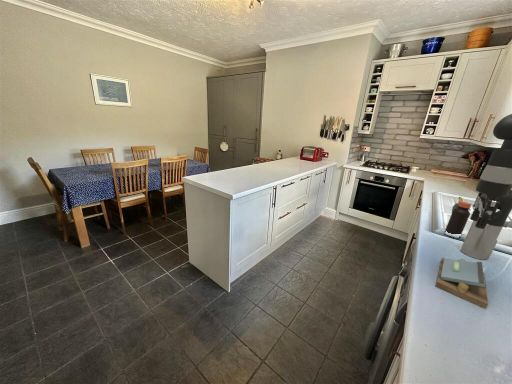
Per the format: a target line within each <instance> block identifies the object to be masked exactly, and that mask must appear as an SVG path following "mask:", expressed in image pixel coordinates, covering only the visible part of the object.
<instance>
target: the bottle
mask: <svg viewBox="0 0 512 384" xmlns="http://www.w3.org/2000/svg"><path fill="white" fill-rule="evenodd" d="M458 201H459V200H458ZM457 203H458V202H457ZM472 206H473V205H472V203H470V202H466V201H464V200H463V201H459V203H458V208H456V209H454V210H453V212H452V211H451V214H450V218H449V220H448V222H447V224H446V227H445V230H446V231H447V232H448V233H451V234H461V235H462V234H463V232H464V230H465V227H466V225H467V222H468V221H469V217H471V212H470V211H469V210H470V208H471V207H472ZM445 230H444V231H445Z"/></svg>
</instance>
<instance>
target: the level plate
mask: <svg viewBox="0 0 512 384" xmlns="http://www.w3.org/2000/svg"><path fill="white" fill-rule="evenodd" d="M443 258H444V263H443V268H442V274H441V279H442V280H447V281H453V282H459V283H465V284H470V285H476V286H482V287H485V283H486V280H485V281H484V276H485V272H484V268H483V267H484V266H483V262H482V261H471V260H470V261H469V260H466V261H463V260H464V259H463V260H460V259H453V258H445V257H443ZM483 272H484V273H483Z"/></svg>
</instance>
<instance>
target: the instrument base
mask: <svg viewBox="0 0 512 384" xmlns="http://www.w3.org/2000/svg"><path fill="white" fill-rule="evenodd" d="M444 258H445V257H441V260H440V263H439V267H438V272H437V276H436V282H435V287H436V288H438V289H441V290H442V291H445V292H447V293H450V294H452V295H454V296H456V297H459V298H460V299H463V300H465V301H467V302H469V303H472V304H473V305H476V306H478V307H480V308H482V309H487V308H488V305H489V300H488V292H487V285H486V278H485V276H486V275H484V281H485V287H482V286H476V285H470V284H465V283H459V282H453V281H447V280H442V279H441V274H442V268H443V263H444ZM459 260H463V261H467V260H466V259H464V258H461V259H459ZM483 273H484V274H485V272H484V271H483Z"/></svg>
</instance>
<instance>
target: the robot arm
mask: <svg viewBox="0 0 512 384" xmlns="http://www.w3.org/2000/svg"><path fill="white" fill-rule="evenodd" d="M492 133H493V136H494V137H495V138H496V139H498V140H500V141H501V140H502V141H503V142H502V144H501V145H500V147H497V148H494V150H493V151H492V153H491V155H490V157H489V159H488V162H487V164H486V166H485V168H484V170H482V173H481V175H480V178H479V180H478V183H477V184H476V187H475V191H476V192H478V194H477V196H476V198H475V201H474V203H473V205H472V209H473V211H472V213H471V214H470V221H472V223H471V224H470V228H469V229H468V232H467V234H466V236H465V238H464V240H463V243H462V245H461V247H460V249H461V250H460V251H461V253H463V254H464V253H465V255H466V256H469V257H471V258H472V259H473V258H474V259H477V260H482V261H486V260H487V259H490V257H491V256H492V254H493V251H494V250H495V247H496V246H497V243H498V238H499V236H500V234H501V232H502V231H503V227H504V225H505V223H506V221H507V219H508V217H509V215H510V213H511V212H512V113H511V114H509V115H506V116H505V117H503V118H501V119H500V120H499V121H498V122H496V124H495V125H494V128H493V130H492Z"/></svg>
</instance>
